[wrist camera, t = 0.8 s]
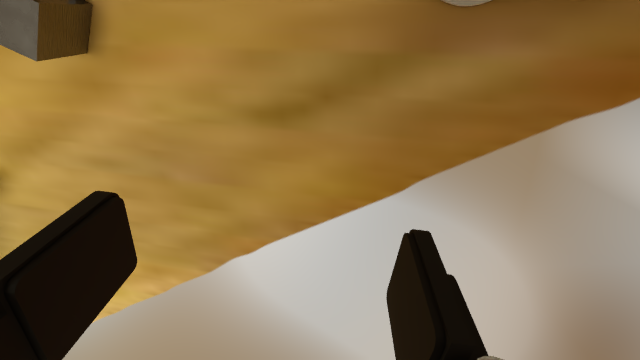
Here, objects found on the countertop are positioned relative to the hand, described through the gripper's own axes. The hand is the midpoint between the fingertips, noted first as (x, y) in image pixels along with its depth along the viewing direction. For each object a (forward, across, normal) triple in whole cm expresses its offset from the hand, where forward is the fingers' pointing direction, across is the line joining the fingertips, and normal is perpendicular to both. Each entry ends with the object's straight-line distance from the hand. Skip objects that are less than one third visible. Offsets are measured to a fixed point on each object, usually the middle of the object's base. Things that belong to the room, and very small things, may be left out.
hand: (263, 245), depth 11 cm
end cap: (+33, +32, -4) cm, 46 cm away
